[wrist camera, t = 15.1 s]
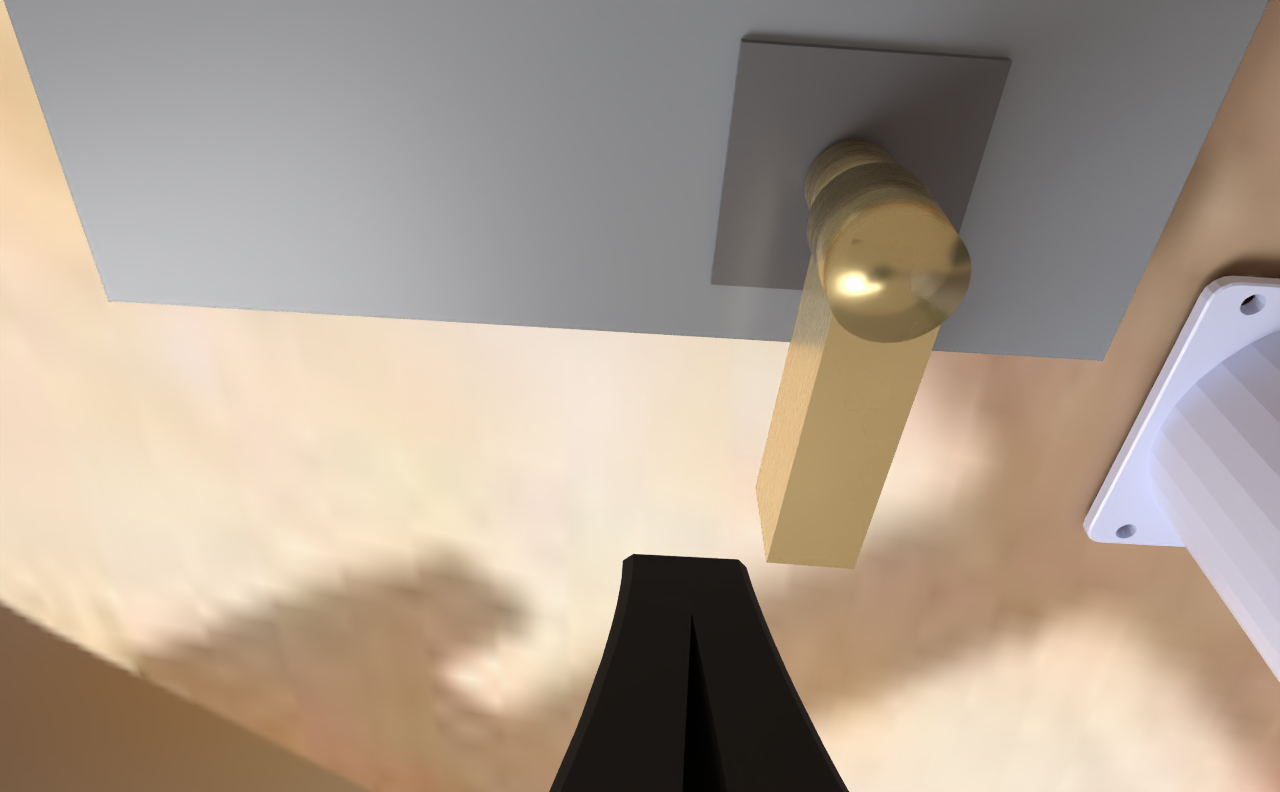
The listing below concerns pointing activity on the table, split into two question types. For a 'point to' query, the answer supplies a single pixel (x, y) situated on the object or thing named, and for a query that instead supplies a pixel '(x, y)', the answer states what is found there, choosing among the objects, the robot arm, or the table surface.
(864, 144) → the key
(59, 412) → the table surface
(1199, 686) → the table surface
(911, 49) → the case
